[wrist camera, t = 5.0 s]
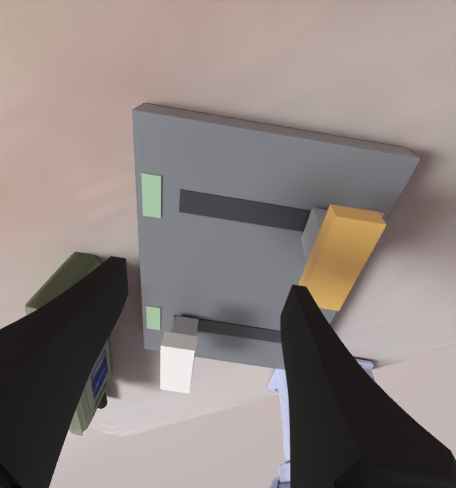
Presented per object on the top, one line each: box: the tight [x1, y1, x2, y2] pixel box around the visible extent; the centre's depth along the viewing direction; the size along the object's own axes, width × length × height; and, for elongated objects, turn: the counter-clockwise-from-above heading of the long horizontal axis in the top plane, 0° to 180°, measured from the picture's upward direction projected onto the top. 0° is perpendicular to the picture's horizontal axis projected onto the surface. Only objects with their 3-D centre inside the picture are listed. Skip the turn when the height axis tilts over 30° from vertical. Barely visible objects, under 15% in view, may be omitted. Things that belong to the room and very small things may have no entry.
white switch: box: [160, 316, 199, 393], centre depth 23 cm, size 2×6×4 cm, turn 172°
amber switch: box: [298, 204, 387, 311], centre depth 17 cm, size 2×6×4 cm, turn 172°
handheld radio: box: [25, 252, 112, 436], centre depth 29 cm, size 7×3×25 cm
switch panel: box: [132, 103, 421, 370], centre depth 23 cm, size 16×22×2 cm
